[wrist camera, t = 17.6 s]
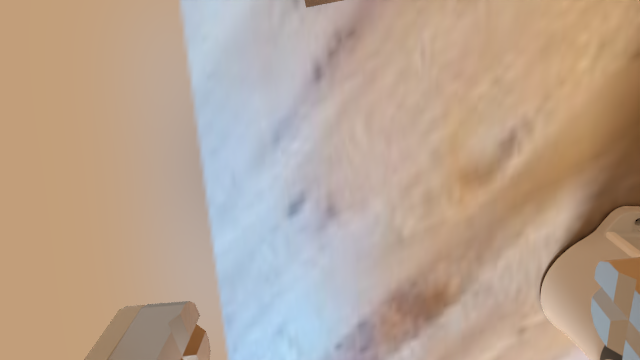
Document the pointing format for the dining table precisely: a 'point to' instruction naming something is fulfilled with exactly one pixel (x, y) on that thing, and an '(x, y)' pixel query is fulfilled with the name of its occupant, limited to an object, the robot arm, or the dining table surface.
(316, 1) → the holder board
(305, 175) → the dining table surface
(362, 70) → the dining table surface
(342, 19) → the dining table surface
